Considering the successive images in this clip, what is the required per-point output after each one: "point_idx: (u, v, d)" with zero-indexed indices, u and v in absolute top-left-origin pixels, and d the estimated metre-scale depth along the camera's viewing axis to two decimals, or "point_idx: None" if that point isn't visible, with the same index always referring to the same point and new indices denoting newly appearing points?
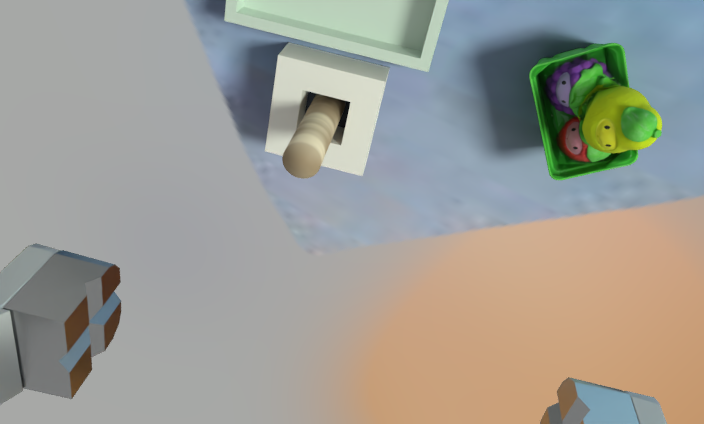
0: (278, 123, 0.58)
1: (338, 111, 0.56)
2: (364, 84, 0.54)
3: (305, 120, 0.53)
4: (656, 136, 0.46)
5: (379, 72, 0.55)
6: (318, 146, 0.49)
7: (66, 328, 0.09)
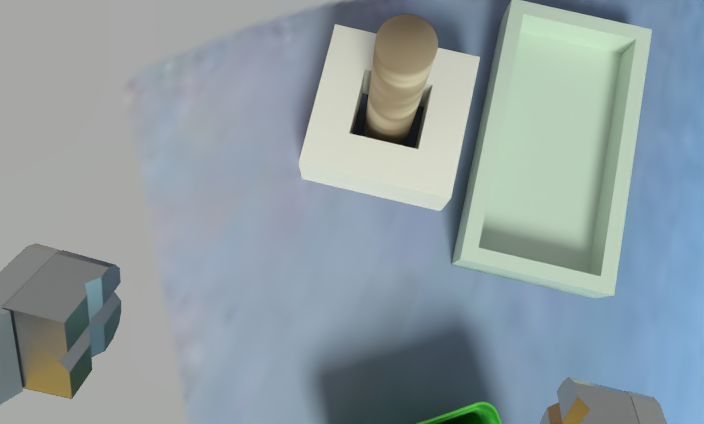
0: None
1: (399, 132, 0.39)
2: (444, 169, 0.38)
3: None
4: None
5: None
6: (422, 74, 0.31)
7: (66, 328, 0.09)
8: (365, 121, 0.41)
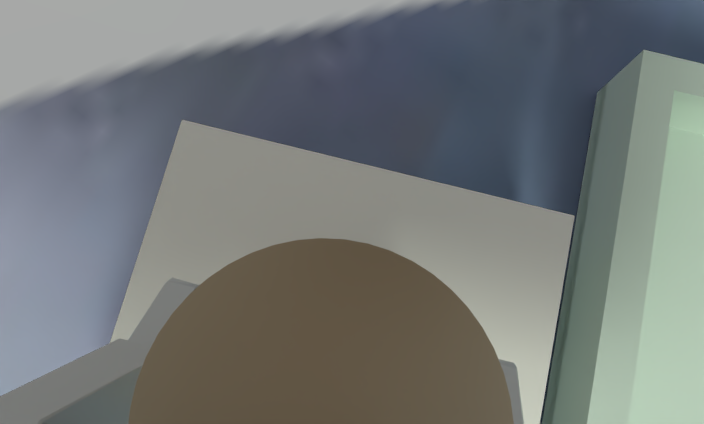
0: (302, 187, 0.15)
1: None
2: None
3: None
4: None
5: None
6: None
7: None
8: None
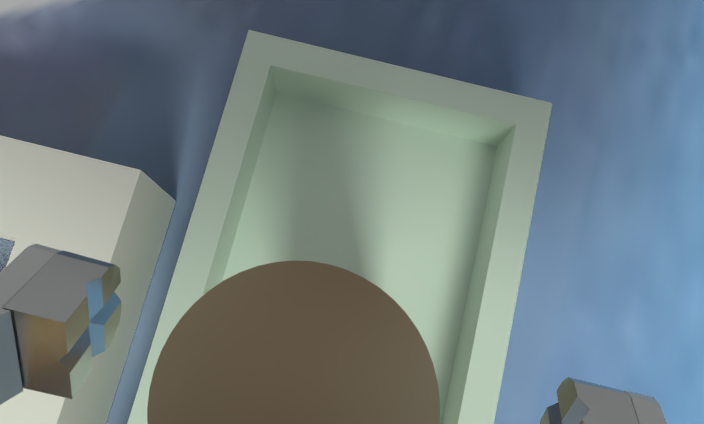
0: None
1: None
2: None
3: None
4: None
5: None
6: None
7: (66, 328, 0.09)
8: None
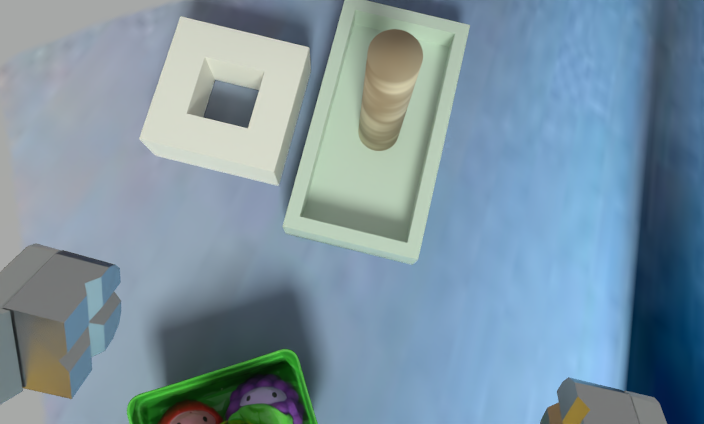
0: (219, 37, 0.45)
1: (389, 134, 0.43)
2: (270, 146, 0.43)
3: None
4: None
5: (279, 168, 0.45)
6: (409, 83, 0.35)
7: (66, 328, 0.09)
8: (359, 123, 0.45)
